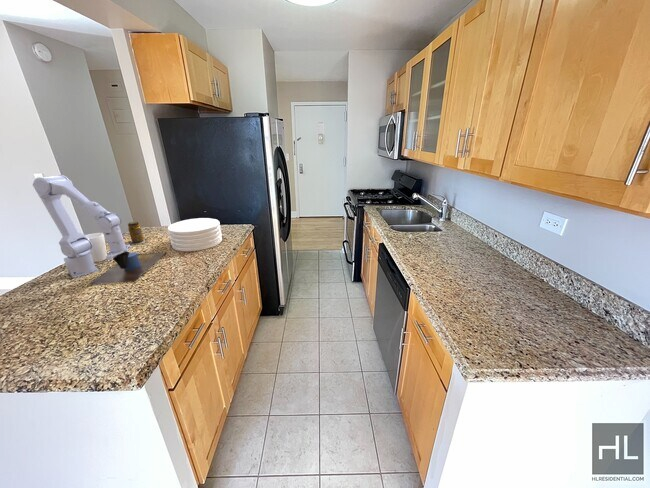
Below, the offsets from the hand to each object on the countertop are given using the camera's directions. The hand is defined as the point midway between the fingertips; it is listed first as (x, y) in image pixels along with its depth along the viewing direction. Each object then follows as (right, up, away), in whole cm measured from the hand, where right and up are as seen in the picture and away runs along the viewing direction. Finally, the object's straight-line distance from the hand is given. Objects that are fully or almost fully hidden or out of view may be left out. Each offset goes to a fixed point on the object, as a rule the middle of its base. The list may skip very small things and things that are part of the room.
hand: (124, 268), depth 121 cm
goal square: (-2, +3, +15) cm, 16 cm away
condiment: (-21, +12, +38) cm, 45 cm away
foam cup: (-24, +3, +15) cm, 28 cm away
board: (-1, 0, +6) cm, 6 cm away
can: (0, 0, +6) cm, 6 cm away
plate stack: (+16, +12, +38) cm, 43 cm away
